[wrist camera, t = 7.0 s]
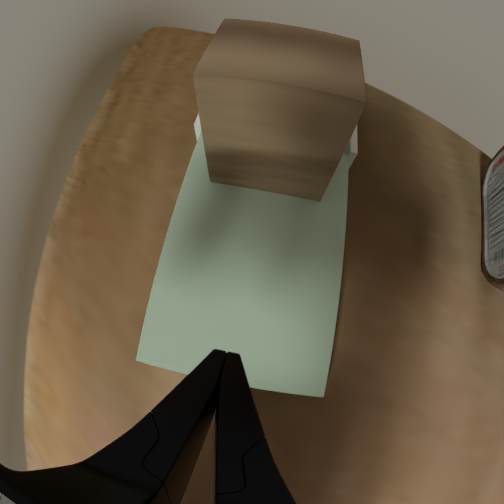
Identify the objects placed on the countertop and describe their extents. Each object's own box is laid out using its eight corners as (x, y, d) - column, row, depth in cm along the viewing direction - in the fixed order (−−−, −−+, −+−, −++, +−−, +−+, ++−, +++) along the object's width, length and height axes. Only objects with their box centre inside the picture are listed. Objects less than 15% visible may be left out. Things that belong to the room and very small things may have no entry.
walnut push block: (320, 201, 21) (366, 102, 12) (209, 182, 22) (192, 73, 12) (325, 139, 23) (359, 40, 14) (228, 121, 23) (224, 18, 14)
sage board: (316, 393, 19) (323, 397, 17) (145, 359, 19) (135, 360, 18) (342, 168, 25) (348, 155, 23) (204, 143, 25) (201, 129, 23)
